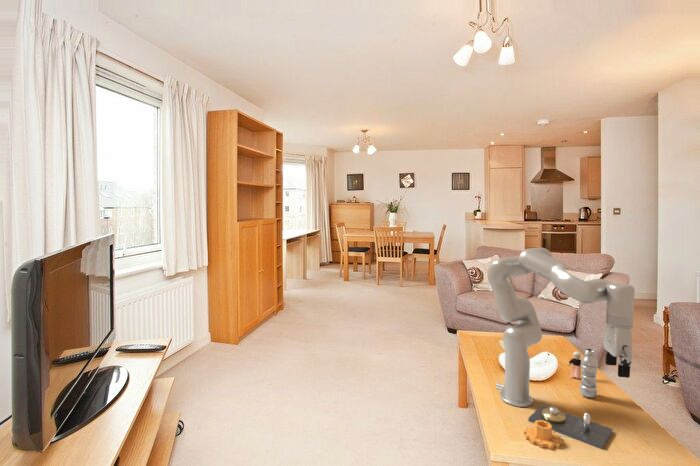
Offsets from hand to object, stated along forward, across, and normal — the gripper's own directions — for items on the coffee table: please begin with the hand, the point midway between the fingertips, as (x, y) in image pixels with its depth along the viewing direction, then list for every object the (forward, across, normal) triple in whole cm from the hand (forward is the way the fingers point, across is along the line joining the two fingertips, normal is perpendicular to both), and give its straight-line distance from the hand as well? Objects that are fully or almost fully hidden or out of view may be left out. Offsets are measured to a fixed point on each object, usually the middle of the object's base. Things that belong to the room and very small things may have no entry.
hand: (617, 370), depth 129 cm
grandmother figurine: (+26, -54, +5) cm, 60 cm away
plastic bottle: (+26, -36, +4) cm, 44 cm away
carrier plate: (+26, -8, -11) cm, 29 cm away
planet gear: (+26, +2, -23) cm, 34 cm away
